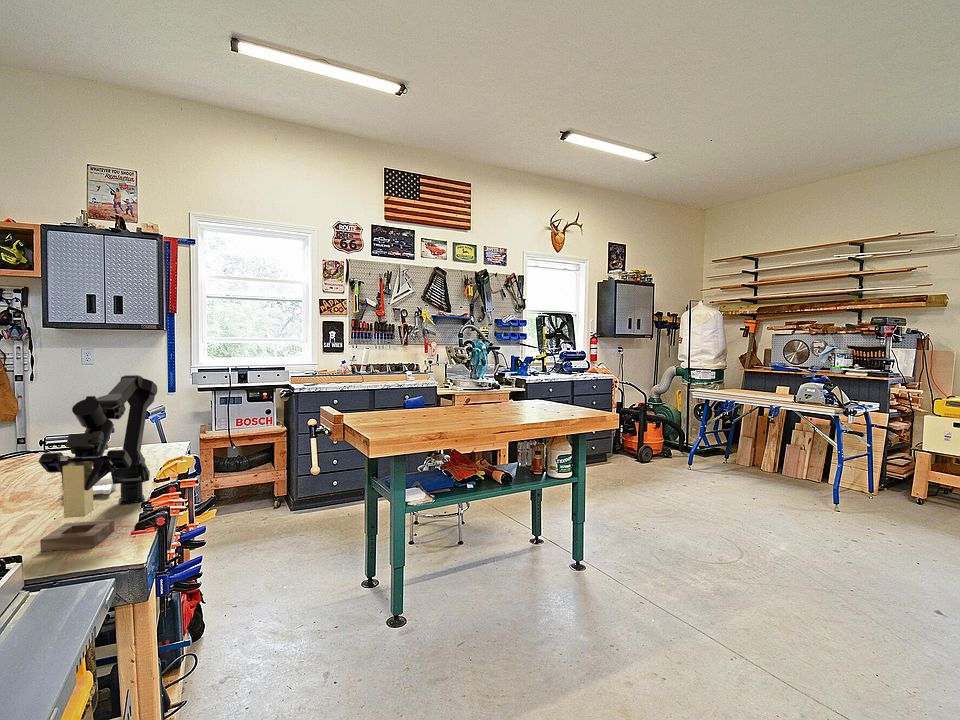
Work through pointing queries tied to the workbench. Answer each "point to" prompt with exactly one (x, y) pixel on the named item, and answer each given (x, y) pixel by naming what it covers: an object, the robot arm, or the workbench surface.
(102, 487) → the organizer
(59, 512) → the workbench surface
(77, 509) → the pale yellow rectangular block
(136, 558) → the workbench surface
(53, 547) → the walnut block
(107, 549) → the workbench surface
